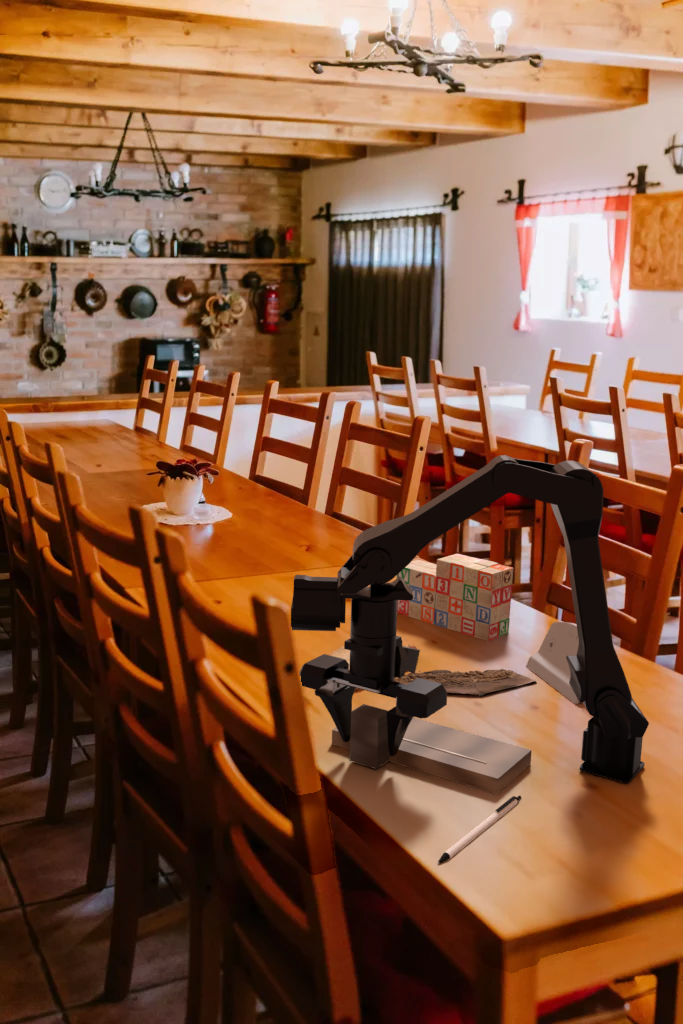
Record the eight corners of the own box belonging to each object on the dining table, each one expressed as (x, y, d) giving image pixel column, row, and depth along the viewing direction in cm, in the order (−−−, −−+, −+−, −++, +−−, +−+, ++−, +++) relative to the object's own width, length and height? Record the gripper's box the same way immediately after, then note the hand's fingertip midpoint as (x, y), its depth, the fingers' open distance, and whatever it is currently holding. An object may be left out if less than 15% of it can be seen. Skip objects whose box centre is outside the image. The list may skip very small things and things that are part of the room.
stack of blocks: (394, 613, 200) (396, 549, 197) (416, 606, 204) (418, 543, 202) (489, 641, 186) (492, 572, 183) (510, 633, 190) (514, 566, 188)
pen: (523, 801, 130) (523, 792, 129) (441, 868, 114) (442, 858, 114) (516, 799, 130) (517, 790, 130) (434, 865, 115) (434, 855, 115)
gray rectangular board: (530, 764, 139) (531, 749, 138) (496, 794, 131) (497, 777, 130) (371, 719, 152) (372, 705, 151) (331, 743, 143) (332, 728, 143)
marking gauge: (404, 750, 141) (406, 701, 140) (376, 769, 136) (378, 719, 134) (377, 742, 143) (379, 694, 142) (349, 760, 138) (351, 711, 136)
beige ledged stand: (524, 665, 174) (547, 608, 173) (549, 672, 176) (571, 615, 175) (576, 704, 159) (601, 642, 158) (602, 712, 160) (627, 650, 159)
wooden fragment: (524, 671, 173) (525, 665, 172) (546, 697, 162) (547, 690, 162) (365, 675, 169) (365, 669, 169) (377, 702, 159) (377, 696, 158)
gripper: (470, 629, 136) (464, 745, 139) (345, 602, 146) (343, 710, 149) (427, 653, 127) (422, 776, 130) (297, 623, 137) (295, 738, 140)
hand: (369, 748), depth 138 cm, fingers open, 7 cm apart
